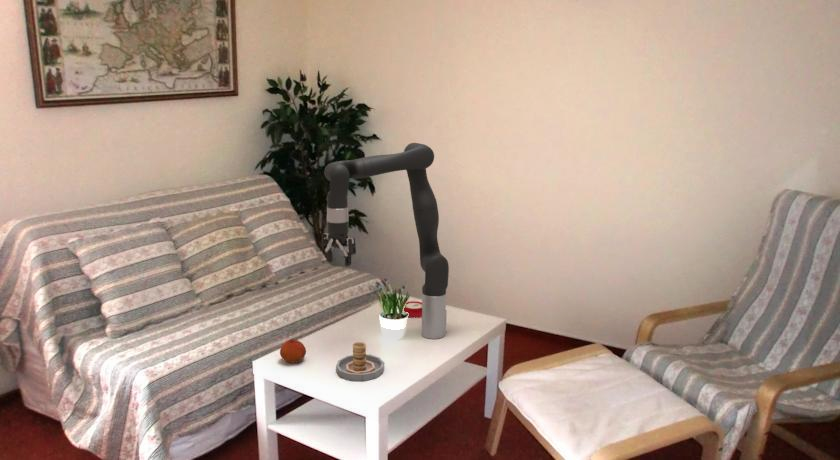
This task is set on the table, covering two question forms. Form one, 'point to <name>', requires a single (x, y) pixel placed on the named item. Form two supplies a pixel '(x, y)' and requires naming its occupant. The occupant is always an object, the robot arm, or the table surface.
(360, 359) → the bead stack
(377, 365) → the round tray
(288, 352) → the fruit
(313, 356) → the table surface
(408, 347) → the table surface
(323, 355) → the table surface
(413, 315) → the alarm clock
